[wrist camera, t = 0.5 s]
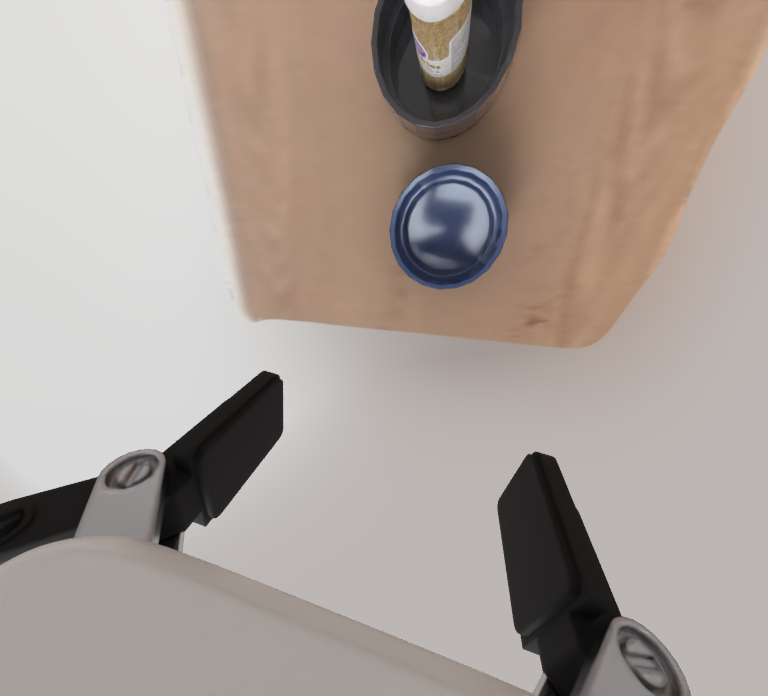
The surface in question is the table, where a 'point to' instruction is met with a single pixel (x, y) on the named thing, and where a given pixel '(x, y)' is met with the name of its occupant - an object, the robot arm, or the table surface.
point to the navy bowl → (448, 226)
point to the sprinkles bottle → (441, 39)
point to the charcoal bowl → (477, 84)
